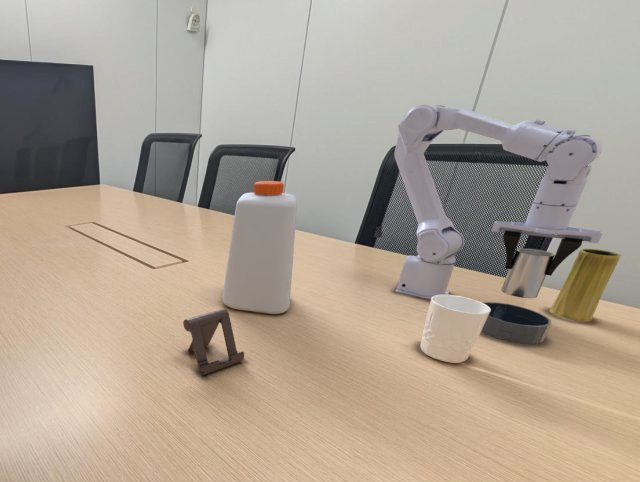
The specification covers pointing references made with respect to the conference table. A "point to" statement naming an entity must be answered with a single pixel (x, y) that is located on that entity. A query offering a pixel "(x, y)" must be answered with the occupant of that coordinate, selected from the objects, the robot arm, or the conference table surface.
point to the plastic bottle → (261, 250)
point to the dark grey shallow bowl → (515, 324)
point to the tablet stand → (203, 333)
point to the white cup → (453, 327)
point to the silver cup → (527, 273)
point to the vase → (585, 284)
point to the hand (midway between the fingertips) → (527, 270)
